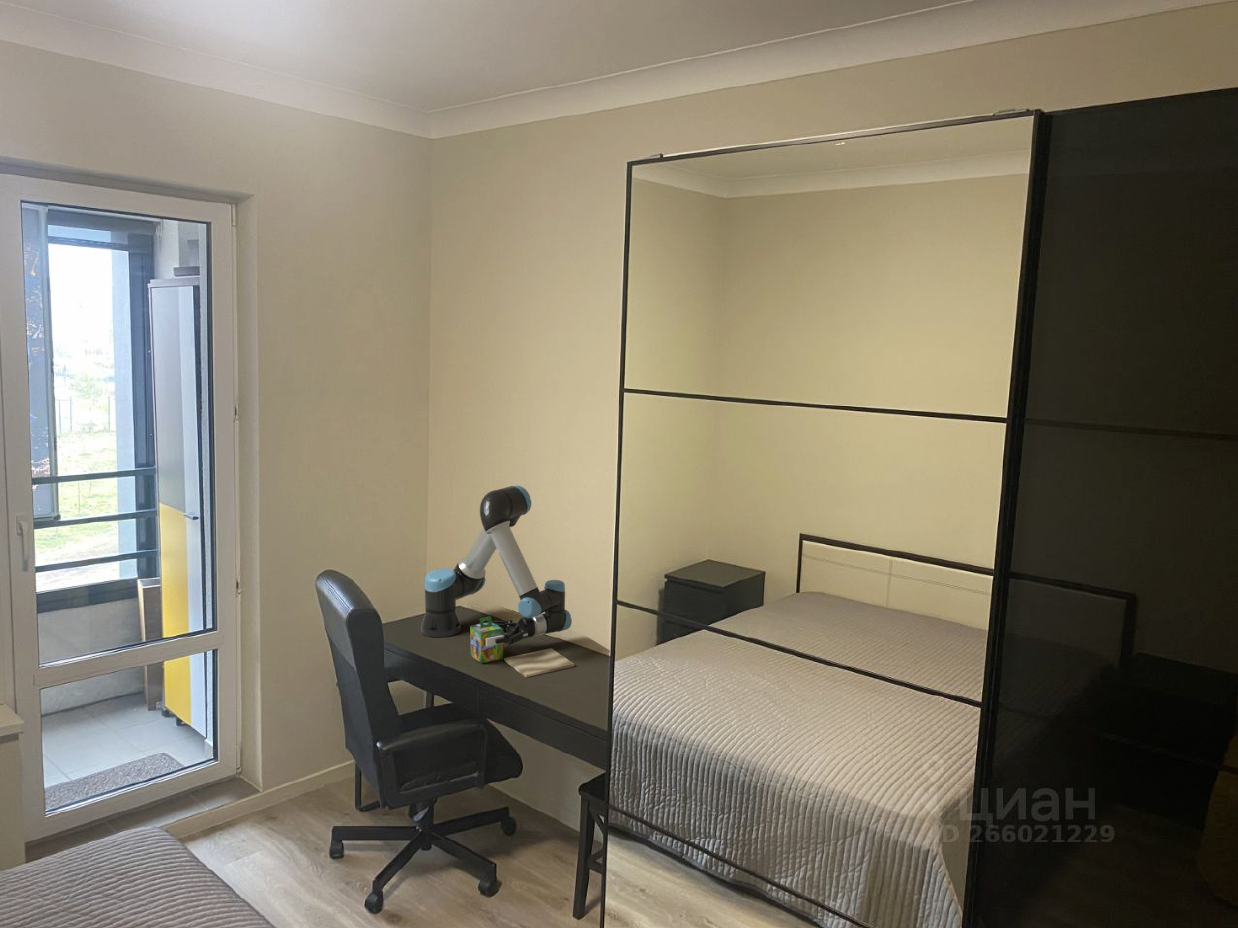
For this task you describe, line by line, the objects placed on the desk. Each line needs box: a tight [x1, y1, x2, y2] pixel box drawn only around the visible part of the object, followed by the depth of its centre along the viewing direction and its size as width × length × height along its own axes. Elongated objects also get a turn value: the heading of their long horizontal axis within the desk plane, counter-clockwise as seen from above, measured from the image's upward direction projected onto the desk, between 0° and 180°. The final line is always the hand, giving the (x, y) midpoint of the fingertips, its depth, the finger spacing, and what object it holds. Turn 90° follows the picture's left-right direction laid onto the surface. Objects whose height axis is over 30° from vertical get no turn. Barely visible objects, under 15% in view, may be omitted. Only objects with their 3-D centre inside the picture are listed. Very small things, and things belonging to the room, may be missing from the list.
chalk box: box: [469, 616, 504, 665], centre depth 314 cm, size 9×9×15 cm
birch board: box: [503, 647, 575, 678], centre depth 310 cm, size 17×19×1 cm
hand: (478, 636), depth 312 cm, fingers open, 13 cm apart
